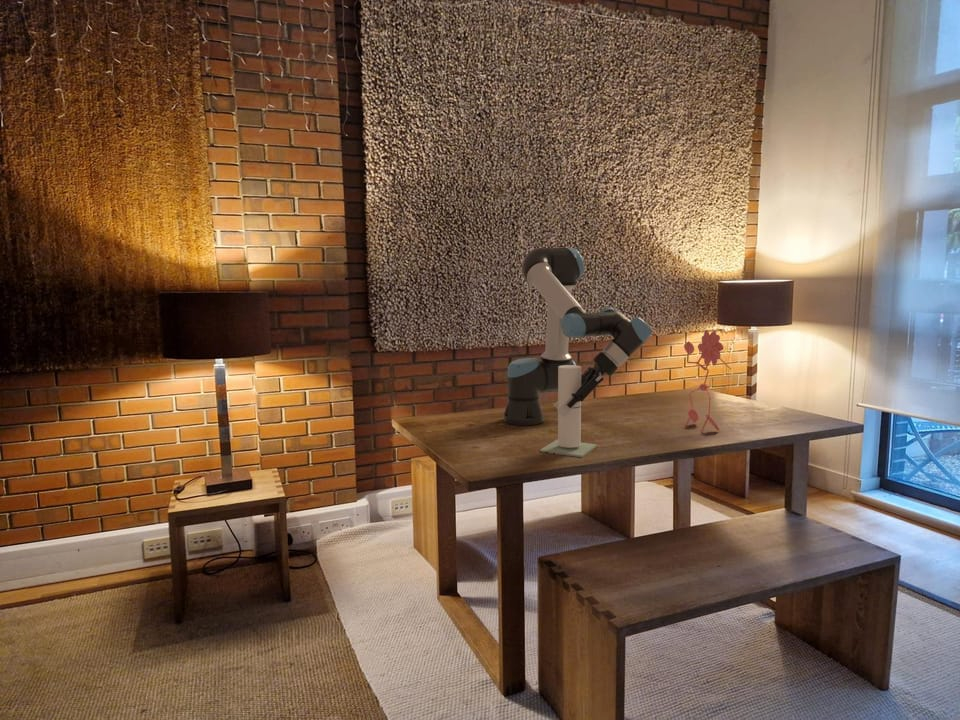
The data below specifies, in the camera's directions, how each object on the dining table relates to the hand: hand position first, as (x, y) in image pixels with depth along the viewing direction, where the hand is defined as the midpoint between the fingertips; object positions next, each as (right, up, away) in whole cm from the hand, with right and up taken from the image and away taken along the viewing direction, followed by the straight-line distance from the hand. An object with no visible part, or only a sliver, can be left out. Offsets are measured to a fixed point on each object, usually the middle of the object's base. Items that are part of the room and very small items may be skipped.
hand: (558, 410), depth 201 cm
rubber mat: (+4, -12, +2) cm, 13 cm away
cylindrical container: (+4, -11, +2) cm, 12 cm away
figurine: (+57, -8, +27) cm, 64 cm away
